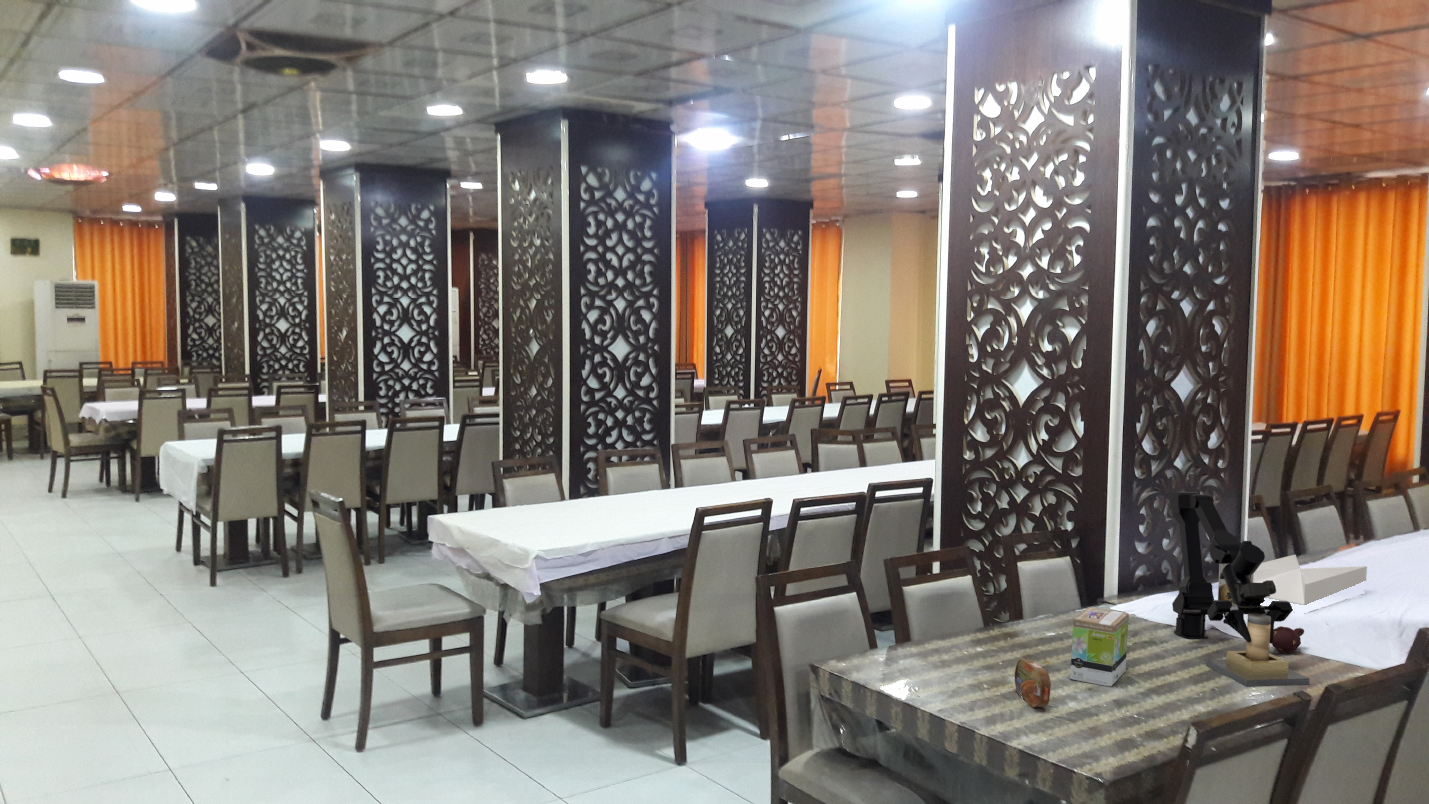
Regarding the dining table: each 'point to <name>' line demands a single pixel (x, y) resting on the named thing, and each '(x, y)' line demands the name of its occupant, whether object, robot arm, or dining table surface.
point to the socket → (1257, 670)
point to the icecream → (1287, 639)
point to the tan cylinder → (1258, 637)
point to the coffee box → (1225, 585)
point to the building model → (1306, 580)
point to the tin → (1032, 683)
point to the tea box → (1099, 646)
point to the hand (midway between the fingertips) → (1260, 641)
